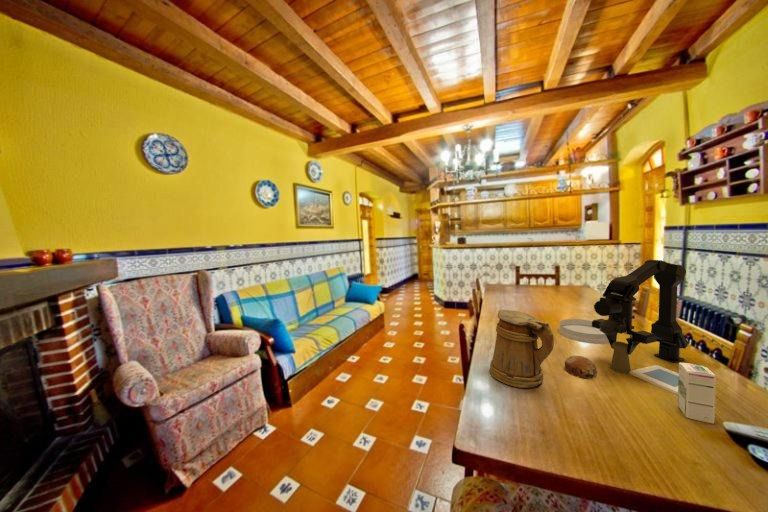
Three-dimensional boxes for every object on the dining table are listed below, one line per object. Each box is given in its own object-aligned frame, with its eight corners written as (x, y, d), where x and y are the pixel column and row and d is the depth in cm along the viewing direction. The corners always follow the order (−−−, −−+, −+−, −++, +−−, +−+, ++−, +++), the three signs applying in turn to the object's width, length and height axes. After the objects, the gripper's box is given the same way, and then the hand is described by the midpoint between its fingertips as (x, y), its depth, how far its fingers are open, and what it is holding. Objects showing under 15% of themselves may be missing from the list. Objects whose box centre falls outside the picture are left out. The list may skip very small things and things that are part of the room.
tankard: (506, 359, 114) (505, 304, 112) (566, 383, 94) (567, 317, 92) (480, 372, 104) (479, 313, 102) (541, 403, 85) (540, 330, 82)
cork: (635, 374, 97) (636, 346, 96) (616, 373, 98) (617, 346, 97) (623, 366, 103) (624, 339, 102) (606, 365, 104) (607, 339, 103)
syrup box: (715, 424, 72) (718, 375, 71) (684, 417, 75) (686, 370, 74) (704, 412, 77) (707, 365, 75) (676, 406, 80) (678, 361, 79)
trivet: (655, 367, 101) (655, 364, 101) (707, 387, 88) (707, 384, 88) (629, 373, 98) (629, 371, 98) (679, 395, 84) (679, 392, 84)
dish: (625, 343, 123) (626, 333, 122) (579, 345, 123) (579, 335, 123) (589, 326, 145) (589, 317, 144) (549, 328, 145) (549, 320, 145)
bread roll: (593, 378, 102) (591, 357, 105) (602, 381, 93) (599, 357, 96) (563, 374, 106) (562, 353, 109) (569, 376, 97) (567, 353, 100)
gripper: (581, 308, 106) (581, 344, 107) (635, 323, 88) (634, 366, 89) (602, 305, 108) (601, 340, 110) (658, 318, 90) (657, 361, 92)
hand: (621, 351), depth 100 cm, fingers closed on cork, 5 cm apart
